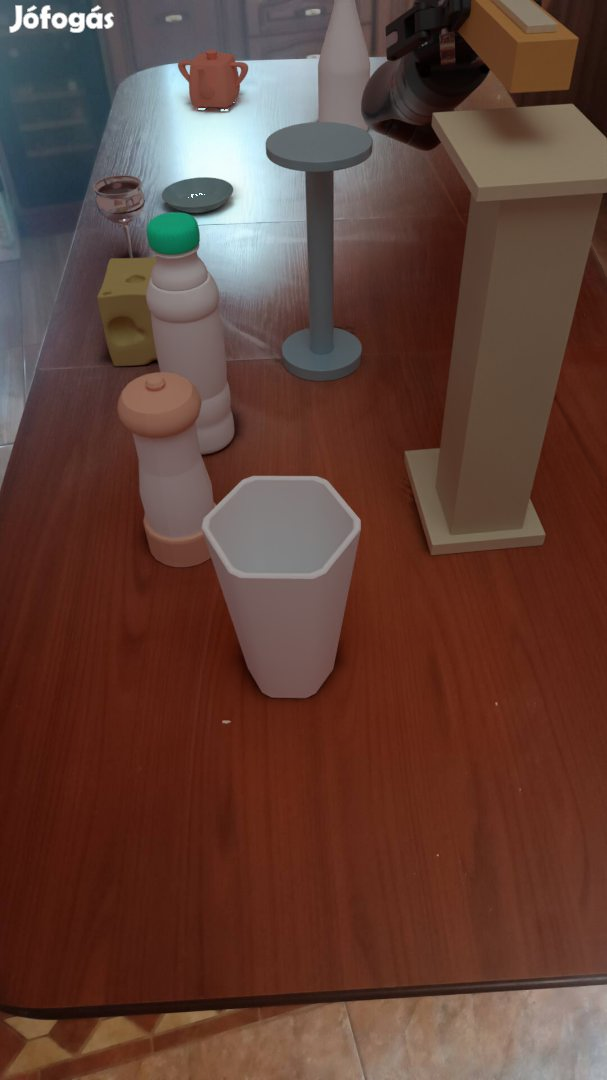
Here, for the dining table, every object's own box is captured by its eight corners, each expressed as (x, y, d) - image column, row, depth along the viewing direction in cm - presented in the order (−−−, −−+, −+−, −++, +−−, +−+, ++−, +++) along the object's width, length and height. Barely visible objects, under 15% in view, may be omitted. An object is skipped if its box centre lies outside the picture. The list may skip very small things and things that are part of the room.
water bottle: (190, 413, 93) (155, 199, 76) (245, 425, 92) (223, 209, 74) (161, 449, 89) (117, 231, 71) (218, 463, 87) (188, 242, 69)
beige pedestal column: (403, 461, 86) (432, 112, 61) (503, 452, 87) (572, 103, 62) (430, 555, 77) (478, 187, 52) (543, 545, 77) (644, 175, 52)
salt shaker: (237, 540, 79) (217, 376, 65) (179, 579, 76) (144, 416, 62) (191, 504, 83) (162, 343, 69) (134, 541, 79) (91, 378, 65)
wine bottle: (308, 133, 154) (304, -58, 133) (343, 120, 159) (345, -67, 137) (343, 146, 149) (344, -51, 128) (378, 132, 154) (385, -60, 132)
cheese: (193, 366, 100) (182, 293, 93) (107, 369, 100) (90, 296, 93) (200, 322, 107) (190, 251, 100) (120, 325, 108) (105, 254, 100)
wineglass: (100, 267, 119) (82, 185, 110) (137, 251, 122) (122, 170, 114) (128, 282, 116) (111, 199, 107) (165, 265, 119) (152, 183, 110)
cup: (355, 618, 72) (360, 475, 59) (356, 717, 65) (361, 578, 52) (231, 617, 72) (210, 474, 60) (219, 715, 65) (192, 576, 53)
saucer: (160, 222, 129) (158, 208, 127) (166, 191, 137) (164, 178, 136) (233, 219, 129) (232, 205, 128) (235, 188, 137) (234, 175, 136)
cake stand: (358, 331, 105) (364, 118, 86) (371, 379, 97) (381, 157, 78) (274, 338, 104) (262, 125, 86) (281, 387, 97) (269, 165, 78)
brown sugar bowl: (177, 101, 170) (170, 46, 162) (229, 91, 173) (224, 37, 166) (203, 121, 161) (196, 65, 153) (256, 110, 164) (253, 55, 157)
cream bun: (451, 24, 64) (456, -28, 62) (500, 21, 65) (506, -31, 62) (509, 93, 53) (518, 32, 50) (569, 89, 53) (581, 28, 50)
